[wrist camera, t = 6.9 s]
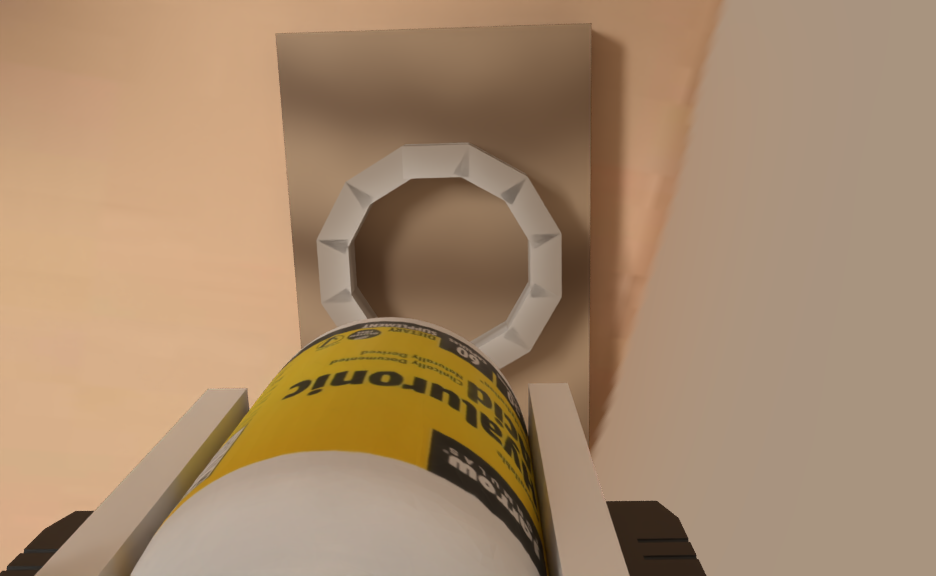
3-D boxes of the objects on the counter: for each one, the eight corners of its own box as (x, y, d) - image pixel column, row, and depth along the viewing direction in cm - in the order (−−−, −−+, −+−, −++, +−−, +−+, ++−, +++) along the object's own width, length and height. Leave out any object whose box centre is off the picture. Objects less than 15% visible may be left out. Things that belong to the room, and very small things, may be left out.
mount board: (285, 36, 31) (265, 29, 28) (586, 27, 31) (597, 18, 28) (318, 453, 35) (303, 485, 32) (584, 447, 35) (593, 479, 32)
